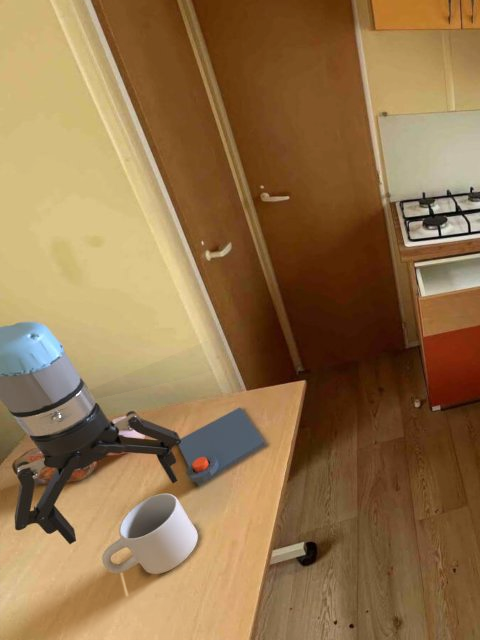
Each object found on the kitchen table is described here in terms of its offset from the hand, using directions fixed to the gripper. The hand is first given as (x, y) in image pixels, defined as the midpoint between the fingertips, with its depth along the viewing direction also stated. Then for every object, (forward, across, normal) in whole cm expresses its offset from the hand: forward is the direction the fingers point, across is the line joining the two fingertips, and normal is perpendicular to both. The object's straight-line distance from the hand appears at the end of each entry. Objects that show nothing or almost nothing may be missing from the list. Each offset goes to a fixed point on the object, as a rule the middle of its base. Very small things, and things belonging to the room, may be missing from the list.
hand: (125, 505), depth 72 cm
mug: (+16, 0, 0) cm, 16 cm away
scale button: (+13, +11, +13) cm, 22 cm away
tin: (+16, -10, +36) cm, 41 cm away
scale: (+16, +16, +19) cm, 30 cm away
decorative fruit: (+16, +1, +34) cm, 38 cm away
